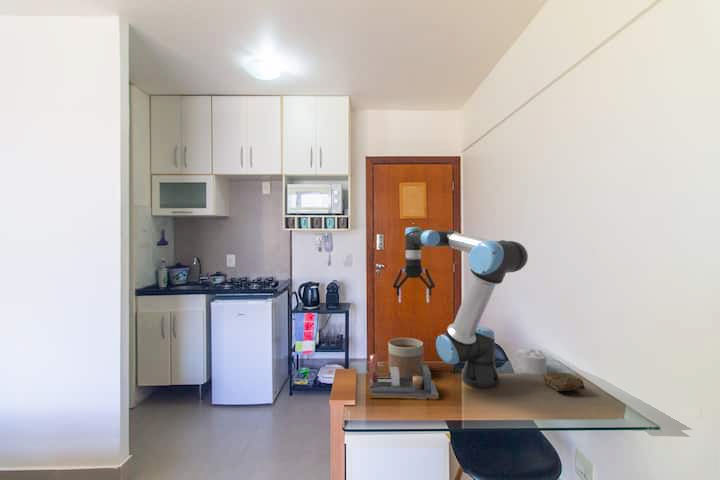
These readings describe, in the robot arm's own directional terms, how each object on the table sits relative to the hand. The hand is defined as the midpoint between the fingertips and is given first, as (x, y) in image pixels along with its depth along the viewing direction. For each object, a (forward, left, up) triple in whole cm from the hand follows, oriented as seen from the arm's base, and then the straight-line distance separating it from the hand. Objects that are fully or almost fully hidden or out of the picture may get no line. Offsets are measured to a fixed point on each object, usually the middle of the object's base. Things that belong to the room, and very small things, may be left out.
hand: (413, 302), depth 162 cm
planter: (+5, +9, -31) cm, 33 cm away
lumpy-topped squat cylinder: (-55, +3, -31) cm, 63 cm away
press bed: (+8, +29, -31) cm, 43 cm away
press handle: (+15, +29, -28) cm, 43 cm away
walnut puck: (+2, +29, -29) cm, 41 cm away
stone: (-57, +25, -31) cm, 69 cm away
